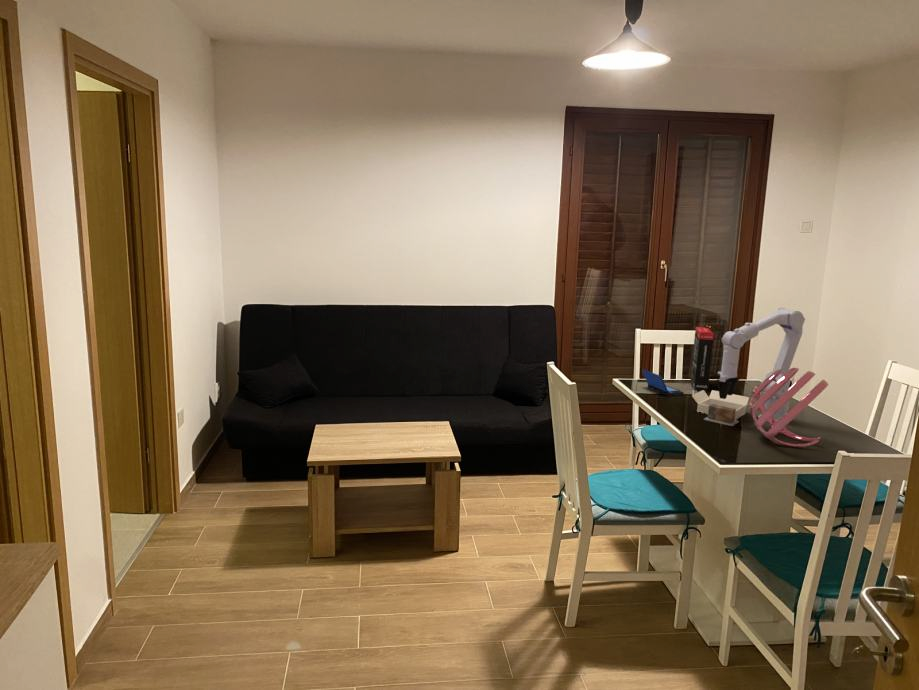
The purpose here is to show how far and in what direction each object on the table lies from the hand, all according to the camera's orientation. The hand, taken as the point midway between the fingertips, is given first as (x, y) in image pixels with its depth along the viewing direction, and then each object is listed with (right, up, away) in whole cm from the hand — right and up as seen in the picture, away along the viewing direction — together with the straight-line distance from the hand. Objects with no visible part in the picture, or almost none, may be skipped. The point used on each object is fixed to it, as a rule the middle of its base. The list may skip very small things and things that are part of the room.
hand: (725, 396), depth 267 cm
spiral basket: (+12, -14, -20) cm, 28 cm away
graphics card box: (+8, 0, +55) cm, 55 cm away
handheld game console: (-13, -1, +42) cm, 44 cm away
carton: (+3, -7, +12) cm, 15 cm away
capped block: (-2, -9, 0) cm, 9 cm away
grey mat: (-2, -9, 0) cm, 10 cm away
